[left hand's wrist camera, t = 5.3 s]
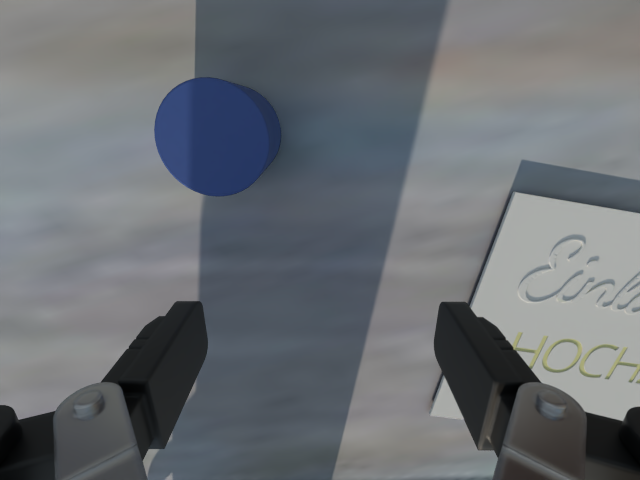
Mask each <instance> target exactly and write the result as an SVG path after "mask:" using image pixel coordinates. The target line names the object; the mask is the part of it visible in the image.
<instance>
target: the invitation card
mask: <svg viewBox="0 0 640 480" xmlns="http://www.w3.org/2000/svg"><path fill="white" fill-rule="evenodd" d="M470 308H471V309H472V311H473V312H474V313H475V315H476V316H477V317H484V318H485V319H487V320H488V321H489V322H491V323H492V324H494V325H495V326H497V327H498V329H499V330H500V331H501V332H502V334H503V335H504V336H505V337H506V340H508V341H509V342H510V344H511V345H512V346H513V347H514V348H513V349H514V350H516V351H517V352H518V354H519V355H520V356H521V357H522V359H523V360H524V361H525V362H526V364H527V365H528V366H529V368H530V369H531V370H532V371H533V373H534V374H535V375H536V376H537V378H538V379H539V380H540V381H541V383H544V384H548V385H551V386H554V387H556V388H558V389H560V390H562V391H564V392H565V393H567V394H568V395H570V396H571V397H572V398H574V399H575V400H576V401H577V402H578V403H579V404H580V405H581V407H582V408H583V410H584V411H585V412H588V413H592V414H596V415H600V416H604V417H609V418H613V419H617V420H621V421H623V420H624V418H625V416H626V413H627V411H628V410H629V409H631V408H633V407H640V213H636V212H630V211H625V210H619V209H613V208H607V207H601V206H595V205H589V204H584V203H578V202H572V201H566V200H560V199H554V198H549V197H543V196H537V195H531V194H525V193H519V192H513V194H512V196H511V199H510V202H509V204H508V207H507V209H506V212H505V215H504V217H503V220H502V223H501V225H500V228H499V230H498V233H497V236H496V238H495V241H494V244H493V246H492V249H491V251H490V254H489V257H488V259H487V262H486V265H485V267H484V270H483V272H482V275H481V278H480V280H479V283H478V286H477V288H476V291H475V294H474V296H473V299H472V301H471V304H470ZM429 414H430V416H437V417H445V418H453V419H461V420H464V418H463V416H462V414H461V412H460V409H459V407H458V405H457V403H456V401H455V398H454V396H453V394H452V392H451V390H450V387H449V385H448V383H447V381H446V379H445V377H444V375H443V378H442V380H441V383H440V386H439V388H438V391H437V393H436V396H435V399H434V401H433V404H432V407H431V409H430V412H429Z"/></svg>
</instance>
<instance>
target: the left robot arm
mask: <svg viewBox="0 0 640 480" xmlns="http://www.w3.org/2000/svg"><path fill="white" fill-rule="evenodd" d="M207 348H208V338H207V332H206V325H205V318H204V312H203V306H202V303H201V302H200V301H177V302H175V303H174V305H173V306H172V307H171V309H170V310H169V311H168V313H167V314H166V316H159V317H157V318H156V319H155V320H153V321H152V322H150V323H149V324H147V325H146V326H145V327H144V328H143V329H142V331H141V332H140V333H139V334H138V336H137V337H136V339H134V341H133V342H132V343H131V345H130V346H129V349H127V350H126V351H125V352H124V353H123V355H122V356H121V357H120V358H119V360H118V361H117V362H116V364H115V365H114V366H113V367H112V369H111V370H110V371H109V372H108V374H107V375H106V376H105V377H104V379H103V380H102V381H101V383H96V384H92V385H89V386H86V387H84V388H82V389H80V390H78V391H76V392H75V393H73V394H72V395H70V396H69V397H68V398H66V399H65V400H64V401H63V402H62V403H61V404H60V405H59V407H58V408H57V410H56V411H54V412H50V413H46V414H41V415H37V416H33V417H29V418H25V419H21V420H18V418H17V416H16V414H15V411H14V410H13V409H12V408H11V407H9V406H5V405H0V480H148V479H147V476H146V472H145V469H144V465H143V459H144V457H145V455H146V453H147V451H148V449H164V448H165V446H166V444H167V442H168V440H169V437H170V435H171V433H172V431H173V429H174V426H175V424H176V422H177V420H178V418H179V415H180V413H181V411H182V409H183V406H184V404H185V402H186V400H187V398H188V395H189V393H190V391H191V389H192V387H193V384H194V382H195V380H196V378H197V375H198V373H199V371H200V369H201V367H202V364H203V362H204V360H205V358H206V354H207ZM513 348H514V347H513V346H512V345H511V344H510V342H509V341H508V340H506V337H505V336H504V335H503V334H502V332H501V331H500V330H499V329H498V327H497V326H495V325H494V324H492V323H491V322H489V321H488V320H487V319H485V318H484V317H477V316H476V315H475V313H474V312H473V311H472V309H471V308H470V307H469V305H468V304H467V303H466V302H441V304H440V306H439V311H438V317H437V324H436V331H435V337H434V351H435V356H436V359H437V361H438V363H439V366H440V368H441V370H442V372H443V374H444V377H445V379H446V381H447V383H448V385H449V387H450V390H451V392H452V394H453V396H454V398H455V401H456V403H457V405H458V407H459V409H460V412H461V414H462V416H463V418H464V420H465V422H466V425H467V427H468V429H469V431H470V433H471V436H472V438H473V440H474V442H475V444H476V446H477V449H478V450H494V451H495V453H496V455H497V457H498V461H497V465H496V469H495V472H494V476H493V479H492V480H640V407H633V408H631V409H629V410H628V411H627V413H626V416H625V418H624V420H623V421H621V420H617V419H613V418H609V417H604V416H600V415H596V414H592V413H588V412H585V411H584V410H583V408H582V407H581V405H580V404H579V403H578V402H577V401H576V400H575V399H574V398H572V397H571V396H570V395H568V394H567V393H565V392H564V391H562V390H560V389H558V388H556V387H554V386H551V385H548V384H544V383H541V381H540V380H539V379H538V378H537V376H536V375H535V374H534V373H533V371H532V370H531V369H530V368H529V366H528V365H527V364H526V362H525V361H524V360H523V359H522V357H521V356H520V355H519V354H518V352H517V351H516V350H514V349H513Z"/></svg>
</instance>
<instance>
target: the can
mask: <svg viewBox="0 0 640 480" xmlns="http://www.w3.org/2000/svg"><path fill="white" fill-rule="evenodd" d="M154 130H155V141H156V146H157V149H158V152H159V155H160V157H161V159H162V161H163V163H164V165H165V166H166V168H167V169H168V170H169V172H170V173H171V174H172V175H173V176H174V177H175V178H176V179H177V180H178V181H179V182H181V183H182V184H183V185H185V186H186V187H188V188H190V189H191V190H193V191H196V192H198V193H201V194H205V195H209V196H228V195H232V194H236V193H238V192H241V191H243V190H245V189H246V188H248V187H249V186H250V185H252V184H253V183H254V182H255V181H256V180H257V179H258V178H259V176H260V175H261V174H262V173H263V172H264V171H265V169H266V168H267V167H268V166H269V165H270V164H271V162H272V161H273V160H274V158H275V156H276V154H277V152H278V149H279V146H280V141H281V129H280V123H279V120H278V117H277V115H276V113H275V111H274V109H273V107H272V106H271V105H270V103H269V102H268V101H267V100H266V99H265V98H264V97H263V96H262V95H260V94H259V93H258V92H256V91H254V90H252V89H250V88H247V87H244V86H241V85H238V84H234V83H231V82H228V81H224V80H221V79H217V78H210V77H201V78H195V79H191V80H188V81H185V82H183V83H181V84H179V85H178V86H176V87H175V88H173V89H172V90H171V91H170V92H169V93H168V94H167V96H166V97H165V98H164V100H163V101H162V103H161V105H160V107H159V109H158V112H157V115H156V120H155V129H154Z"/></svg>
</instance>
